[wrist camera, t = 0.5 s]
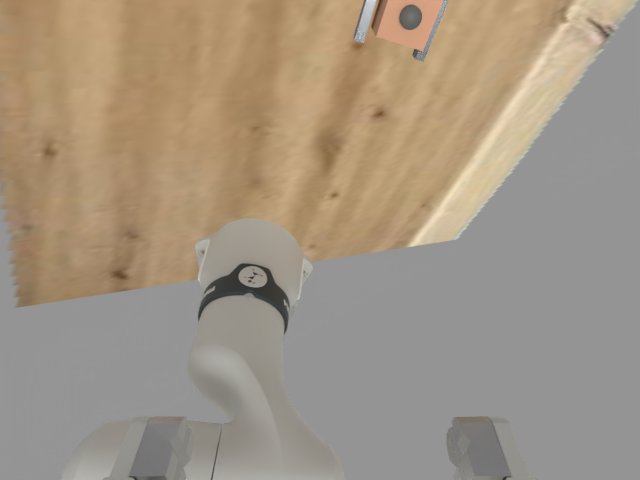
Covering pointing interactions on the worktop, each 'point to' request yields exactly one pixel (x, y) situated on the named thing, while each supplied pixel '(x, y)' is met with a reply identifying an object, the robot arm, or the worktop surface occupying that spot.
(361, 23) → the rail
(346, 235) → the worktop surface
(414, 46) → the block
